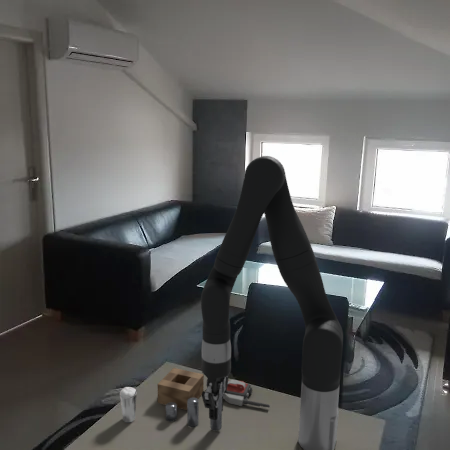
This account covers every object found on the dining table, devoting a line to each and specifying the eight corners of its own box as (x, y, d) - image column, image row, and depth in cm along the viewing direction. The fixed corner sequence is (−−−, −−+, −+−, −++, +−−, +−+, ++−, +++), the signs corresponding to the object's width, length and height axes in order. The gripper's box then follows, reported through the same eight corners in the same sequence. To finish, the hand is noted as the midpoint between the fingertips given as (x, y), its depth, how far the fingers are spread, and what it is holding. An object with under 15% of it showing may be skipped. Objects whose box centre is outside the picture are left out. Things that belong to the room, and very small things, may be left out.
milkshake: (131, 427, 129) (130, 393, 127) (116, 420, 132) (115, 387, 130) (143, 418, 133) (142, 385, 131) (128, 412, 136) (127, 380, 134)
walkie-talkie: (202, 399, 143) (268, 412, 138) (202, 386, 142) (269, 399, 137) (212, 384, 152) (275, 396, 146) (212, 371, 151) (275, 383, 145)
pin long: (223, 425, 130) (223, 384, 127) (219, 431, 127) (219, 390, 124) (212, 422, 131) (213, 382, 128) (208, 429, 128) (208, 387, 125)
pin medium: (200, 422, 132) (200, 399, 131) (195, 428, 130) (195, 404, 128) (190, 419, 133) (190, 396, 132) (185, 425, 131) (185, 402, 129)
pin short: (178, 416, 135) (178, 403, 134) (173, 422, 132) (173, 409, 131) (169, 414, 136) (168, 401, 135) (163, 420, 133) (163, 407, 132)
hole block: (203, 392, 146) (203, 374, 145) (189, 410, 137) (189, 391, 136) (173, 385, 150) (173, 367, 149) (157, 402, 141) (157, 384, 139)
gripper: (219, 370, 117) (219, 434, 120) (239, 345, 129) (238, 403, 133) (191, 364, 119) (191, 427, 123) (213, 340, 132) (213, 398, 136)
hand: (216, 414), depth 128 cm, fingers closed on pin long, 3 cm apart
